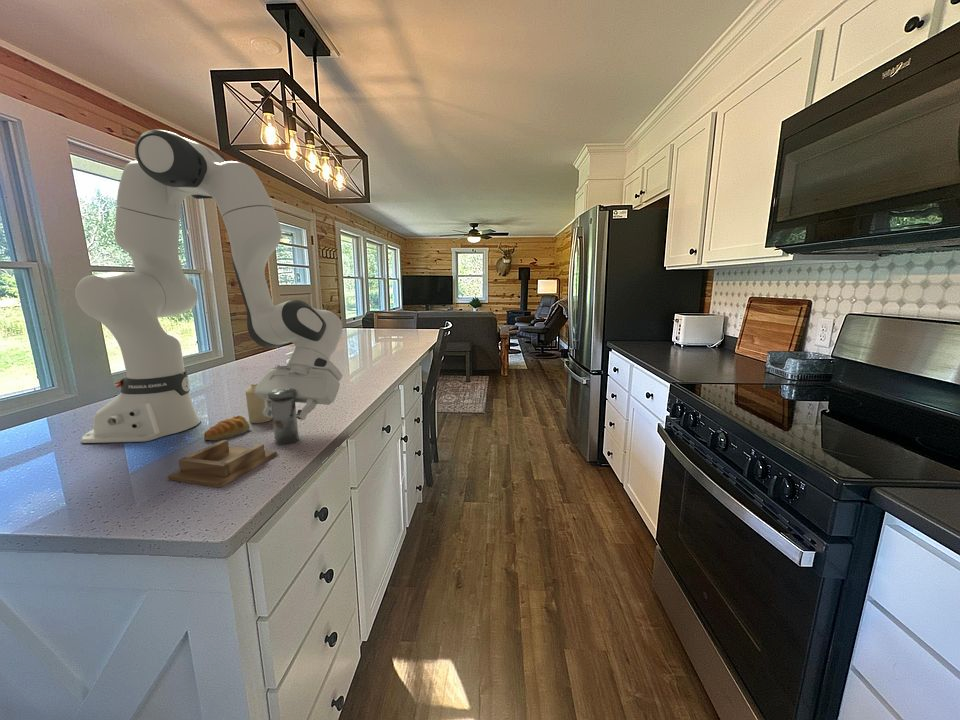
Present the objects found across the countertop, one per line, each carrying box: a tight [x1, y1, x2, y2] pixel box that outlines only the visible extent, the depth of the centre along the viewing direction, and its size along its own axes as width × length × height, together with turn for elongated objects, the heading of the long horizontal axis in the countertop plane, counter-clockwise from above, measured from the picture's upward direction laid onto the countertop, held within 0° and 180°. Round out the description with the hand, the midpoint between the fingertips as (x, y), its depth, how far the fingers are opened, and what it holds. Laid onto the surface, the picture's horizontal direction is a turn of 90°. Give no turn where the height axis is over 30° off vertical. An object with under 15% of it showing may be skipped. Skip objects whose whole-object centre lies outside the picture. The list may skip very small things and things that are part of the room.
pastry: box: [203, 415, 251, 441], centre depth 93 cm, size 9×7×4 cm
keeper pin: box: [268, 388, 300, 446], centre depth 88 cm, size 6×6×12 cm
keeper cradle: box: [167, 439, 278, 489], centre depth 77 cm, size 14×12×3 cm
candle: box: [244, 383, 273, 424], centre depth 102 cm, size 6×6×10 cm
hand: (283, 417), depth 88 cm, fingers open, 8 cm apart
